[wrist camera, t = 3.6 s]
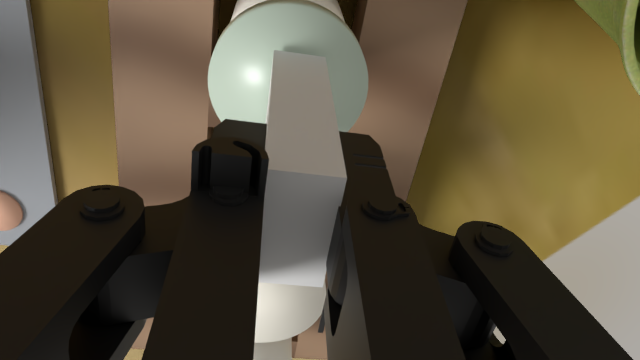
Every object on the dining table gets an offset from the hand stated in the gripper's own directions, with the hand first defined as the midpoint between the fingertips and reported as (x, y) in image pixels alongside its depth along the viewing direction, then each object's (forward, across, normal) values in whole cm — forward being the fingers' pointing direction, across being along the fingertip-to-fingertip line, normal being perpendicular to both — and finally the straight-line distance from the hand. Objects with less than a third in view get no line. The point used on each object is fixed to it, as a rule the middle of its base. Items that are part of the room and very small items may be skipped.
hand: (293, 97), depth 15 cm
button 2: (+7, 0, 0) cm, 7 cm away
